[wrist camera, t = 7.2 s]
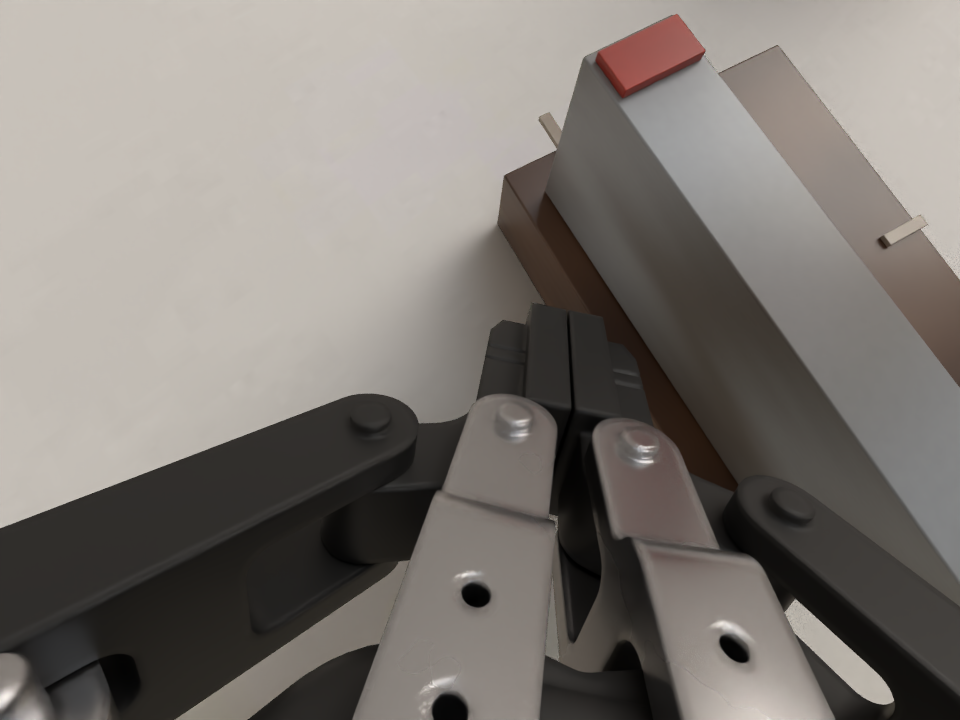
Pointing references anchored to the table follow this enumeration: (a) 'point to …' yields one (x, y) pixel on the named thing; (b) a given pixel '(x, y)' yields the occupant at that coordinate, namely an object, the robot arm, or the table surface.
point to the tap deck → (830, 180)
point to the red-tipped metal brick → (757, 299)
